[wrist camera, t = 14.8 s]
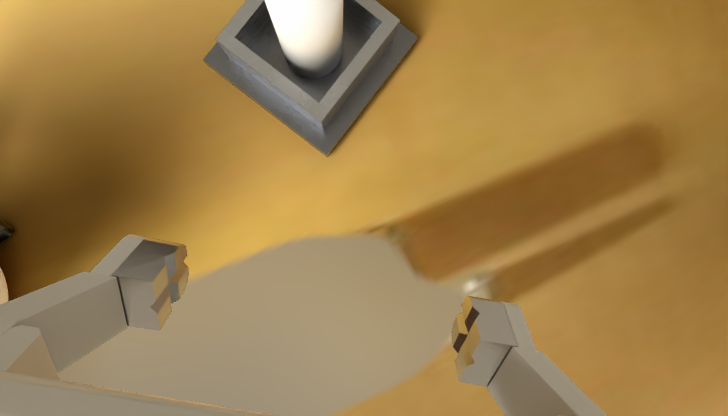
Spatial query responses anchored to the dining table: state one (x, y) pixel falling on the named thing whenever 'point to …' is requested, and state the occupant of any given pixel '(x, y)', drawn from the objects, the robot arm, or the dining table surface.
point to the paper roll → (309, 34)
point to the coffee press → (3, 232)
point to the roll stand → (303, 94)
